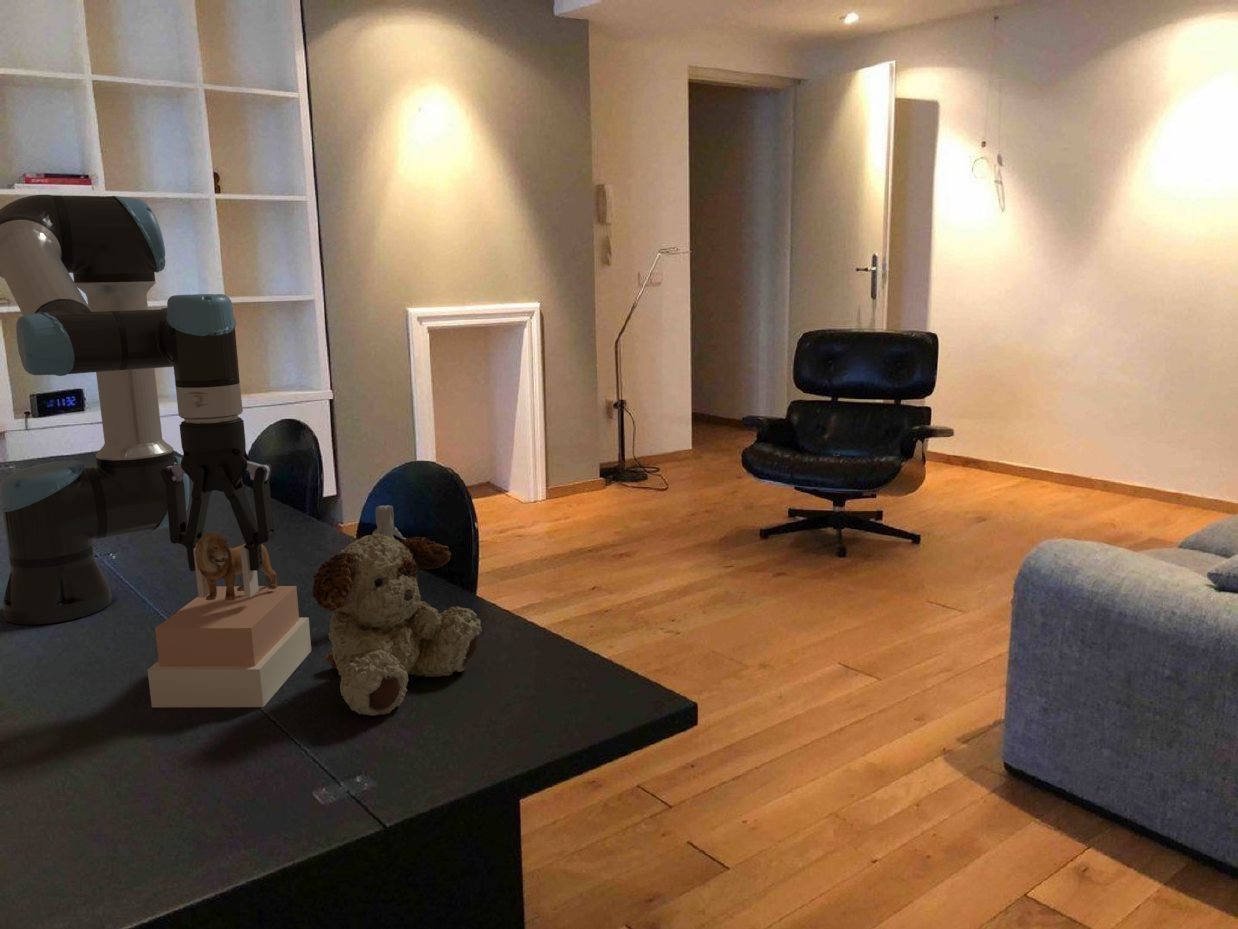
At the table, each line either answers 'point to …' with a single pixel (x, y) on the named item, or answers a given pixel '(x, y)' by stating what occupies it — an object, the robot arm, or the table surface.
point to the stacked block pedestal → (229, 649)
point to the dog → (389, 620)
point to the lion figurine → (225, 564)
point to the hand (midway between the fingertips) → (228, 593)
